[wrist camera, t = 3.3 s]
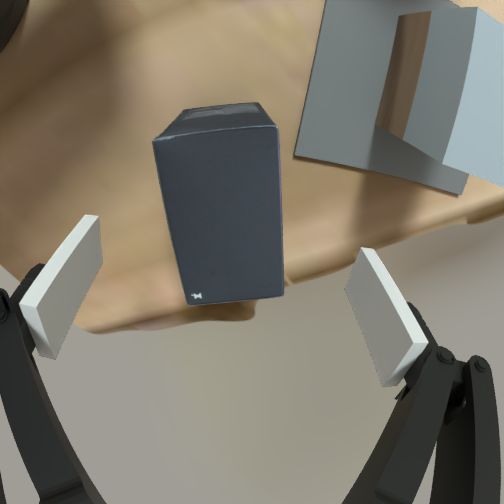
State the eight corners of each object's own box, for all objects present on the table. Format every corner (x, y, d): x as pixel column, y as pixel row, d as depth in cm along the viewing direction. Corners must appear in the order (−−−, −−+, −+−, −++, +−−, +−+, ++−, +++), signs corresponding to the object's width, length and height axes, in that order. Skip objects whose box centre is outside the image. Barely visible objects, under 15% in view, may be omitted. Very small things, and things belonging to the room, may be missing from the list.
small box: (271, 221, 28) (289, 301, 20) (197, 228, 28) (184, 310, 20) (264, 100, 23) (285, 124, 14) (179, 109, 23) (144, 140, 14)
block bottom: (374, 124, 23) (402, 139, 19) (398, 15, 18) (431, 10, 14) (430, 142, 24) (462, 161, 20) (454, 43, 19) (491, 46, 15)
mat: (293, 153, 25) (294, 155, 25) (334, -48, 15) (335, -49, 15) (459, 193, 27) (461, 195, 27) (500, 36, 18) (503, 36, 18)
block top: (402, 139, 19) (441, 163, 15) (431, 10, 14) (477, 6, 10) (462, 161, 20) (502, 187, 16) (491, 46, 15) (537, 53, 11)
